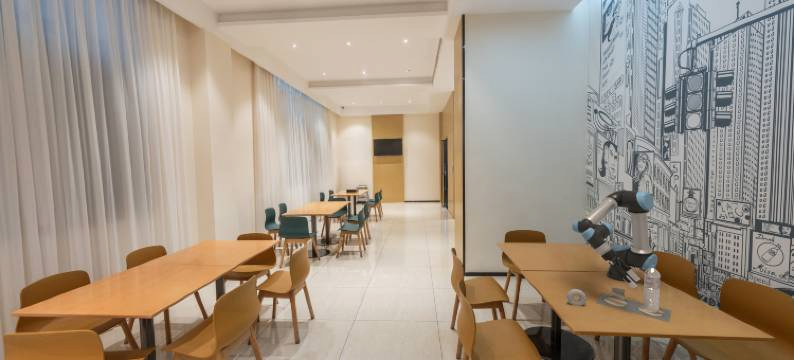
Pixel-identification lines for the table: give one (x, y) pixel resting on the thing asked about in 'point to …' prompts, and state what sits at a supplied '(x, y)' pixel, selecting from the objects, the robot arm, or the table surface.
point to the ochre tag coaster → (650, 312)
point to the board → (635, 308)
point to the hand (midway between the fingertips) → (636, 283)
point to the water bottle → (651, 290)
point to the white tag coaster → (619, 295)
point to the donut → (572, 293)
